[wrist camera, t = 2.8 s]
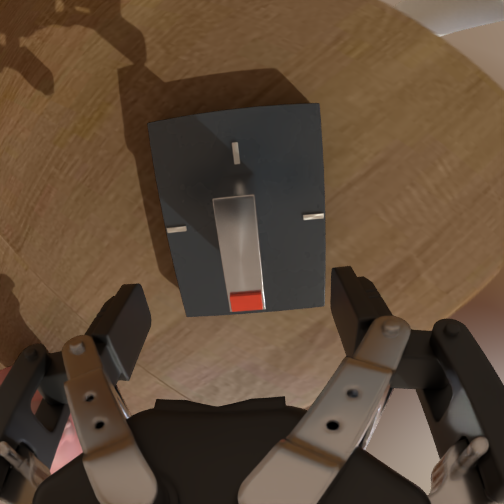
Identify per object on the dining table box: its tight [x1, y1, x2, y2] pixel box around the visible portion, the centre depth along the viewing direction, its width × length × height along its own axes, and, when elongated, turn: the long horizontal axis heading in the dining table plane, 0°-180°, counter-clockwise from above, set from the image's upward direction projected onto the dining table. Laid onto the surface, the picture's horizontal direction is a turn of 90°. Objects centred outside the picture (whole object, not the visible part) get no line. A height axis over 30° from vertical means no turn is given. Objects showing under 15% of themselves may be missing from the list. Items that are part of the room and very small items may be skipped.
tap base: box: [147, 103, 325, 317], centre depth 22 cm, size 15×11×3 cm
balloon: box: [0, 366, 83, 475], centre depth 26 cm, size 15×20×15 cm
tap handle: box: [212, 173, 266, 312], centre depth 18 cm, size 6×2×6 cm, turn 6°
